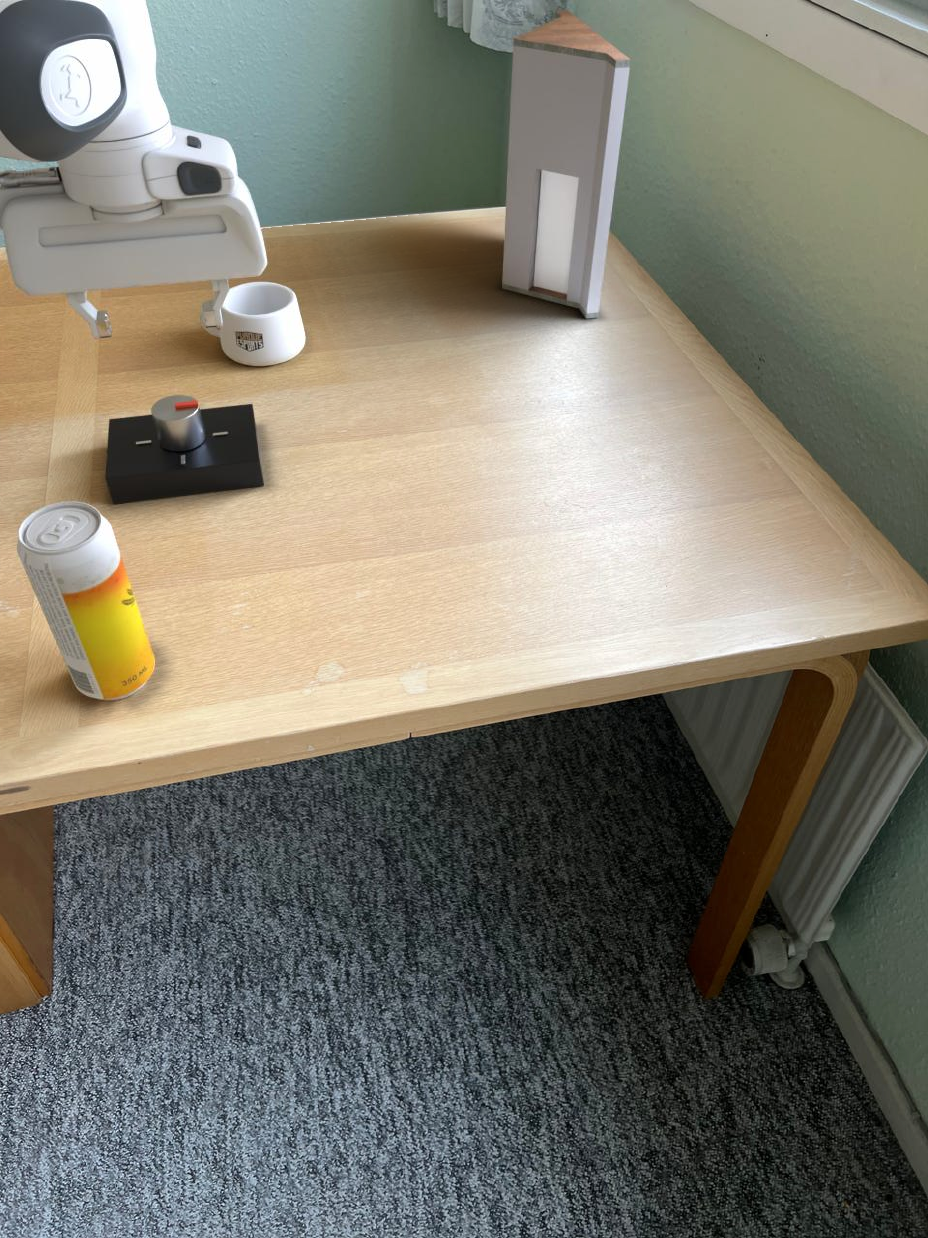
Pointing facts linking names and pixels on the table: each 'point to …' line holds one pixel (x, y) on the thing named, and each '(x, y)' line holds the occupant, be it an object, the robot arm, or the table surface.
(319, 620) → the table surface
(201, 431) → the knob
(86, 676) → the beer can
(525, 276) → the cabinet
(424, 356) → the table surface
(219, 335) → the mug
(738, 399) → the table surface
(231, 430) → the panel
